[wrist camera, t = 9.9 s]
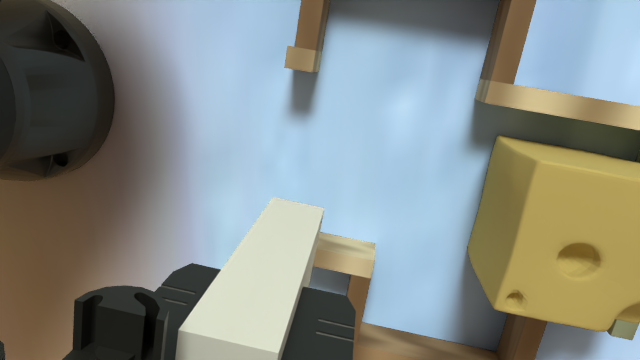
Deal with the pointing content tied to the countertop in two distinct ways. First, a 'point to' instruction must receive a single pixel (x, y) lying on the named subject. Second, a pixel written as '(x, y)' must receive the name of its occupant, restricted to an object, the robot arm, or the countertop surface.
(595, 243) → the cheese
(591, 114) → the trap lane
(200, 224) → the countertop surface
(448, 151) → the countertop surface
